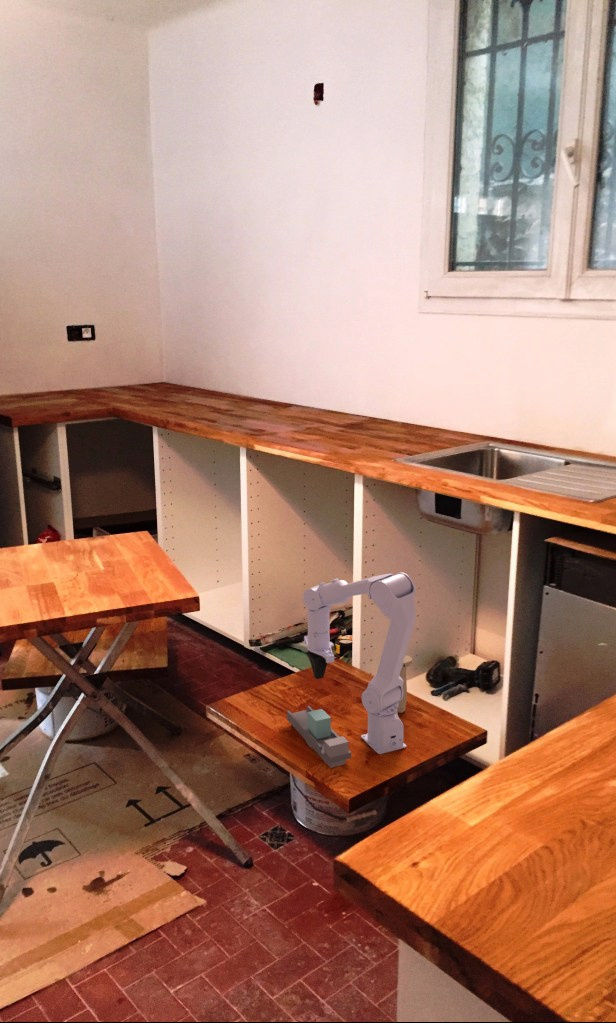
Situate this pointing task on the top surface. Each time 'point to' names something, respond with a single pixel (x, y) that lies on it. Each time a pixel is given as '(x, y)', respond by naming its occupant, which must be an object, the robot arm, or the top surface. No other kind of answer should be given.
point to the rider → (319, 724)
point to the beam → (321, 740)
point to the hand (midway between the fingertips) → (318, 677)
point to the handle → (404, 684)
